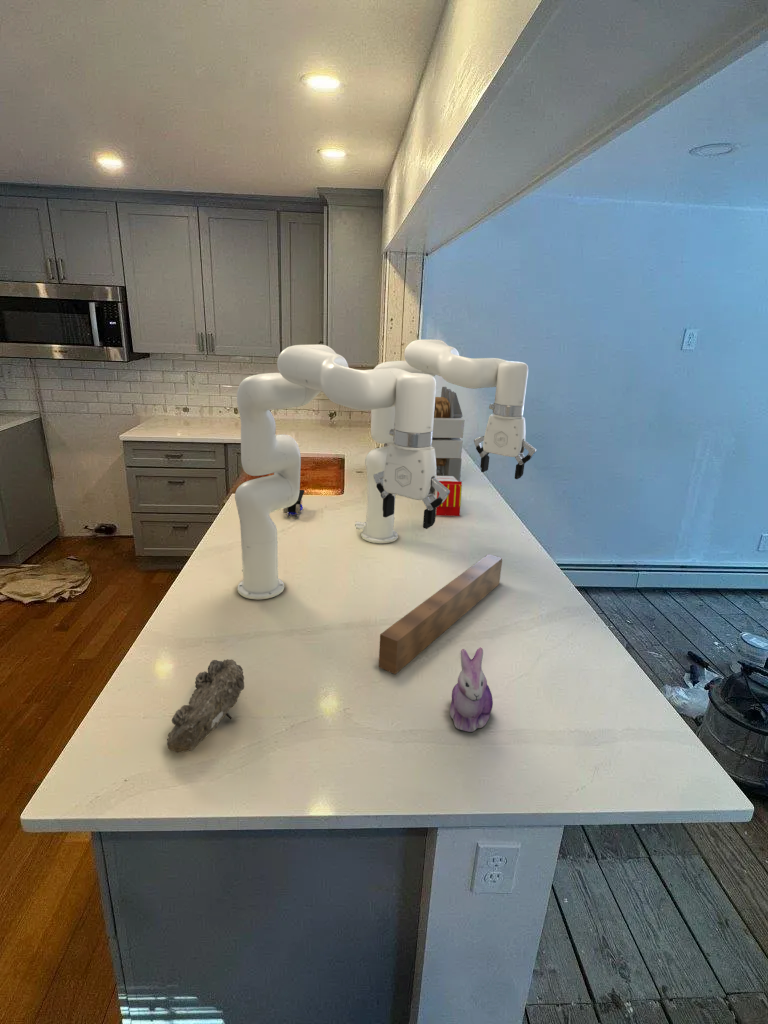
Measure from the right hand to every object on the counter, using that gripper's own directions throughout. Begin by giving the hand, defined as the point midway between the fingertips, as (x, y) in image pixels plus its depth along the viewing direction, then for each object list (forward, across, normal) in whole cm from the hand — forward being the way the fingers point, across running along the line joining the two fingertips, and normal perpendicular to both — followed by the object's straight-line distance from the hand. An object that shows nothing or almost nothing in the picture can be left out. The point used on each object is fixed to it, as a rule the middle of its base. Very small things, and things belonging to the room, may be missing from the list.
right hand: (500, 474), depth 152 cm
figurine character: (+34, -84, +9) cm, 91 cm away
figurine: (+34, +21, -53) cm, 67 cm away
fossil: (+34, -18, -84) cm, 92 cm away
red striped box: (+34, -46, +56) cm, 80 cm away
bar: (+34, 0, -23) cm, 41 cm away
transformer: (+34, -78, +90) cm, 124 cm away
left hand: (0, 0, -47) cm, 47 cm away
